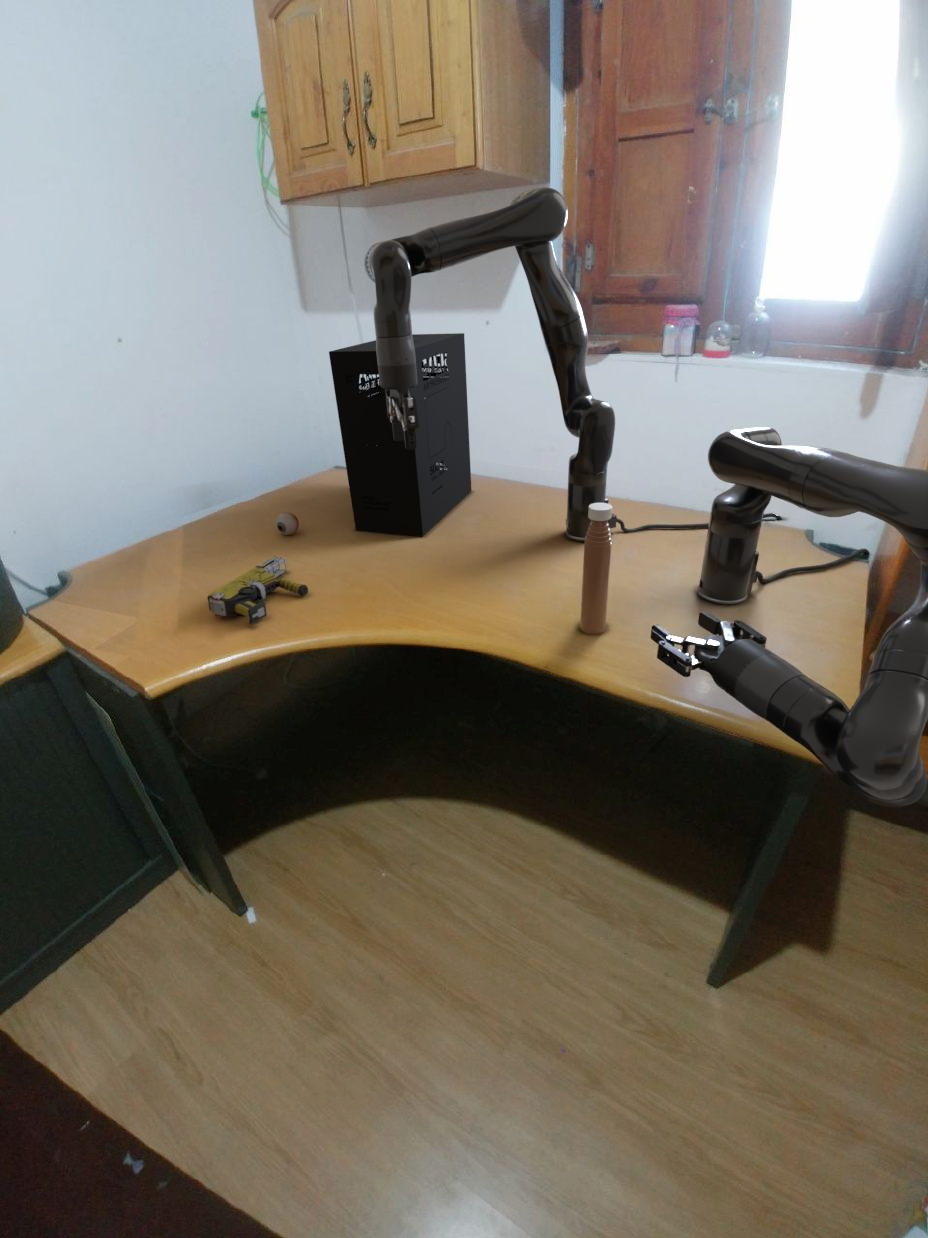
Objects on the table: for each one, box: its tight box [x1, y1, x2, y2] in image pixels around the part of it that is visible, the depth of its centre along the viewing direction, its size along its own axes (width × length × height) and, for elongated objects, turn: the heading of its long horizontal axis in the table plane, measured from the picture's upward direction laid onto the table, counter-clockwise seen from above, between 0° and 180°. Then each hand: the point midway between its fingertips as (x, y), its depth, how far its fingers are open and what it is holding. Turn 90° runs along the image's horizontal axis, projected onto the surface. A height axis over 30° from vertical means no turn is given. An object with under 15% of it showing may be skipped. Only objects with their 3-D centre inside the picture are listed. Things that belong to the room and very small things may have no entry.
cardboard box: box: [328, 332, 472, 537], centre depth 166 cm, size 38×20×45 cm, turn 159°
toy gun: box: [206, 555, 309, 625], centre depth 131 cm, size 5×24×15 cm
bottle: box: [579, 520, 613, 635], centre depth 109 cm, size 5×5×24 cm
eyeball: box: [275, 511, 300, 536], centre depth 163 cm, size 6×6×6 cm
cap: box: [588, 503, 613, 521], centre depth 103 cm, size 4×4×2 cm
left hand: (404, 444), depth 126 cm, fingers open, 8 cm apart
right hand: (677, 623), depth 90 cm, fingers open, 8 cm apart
